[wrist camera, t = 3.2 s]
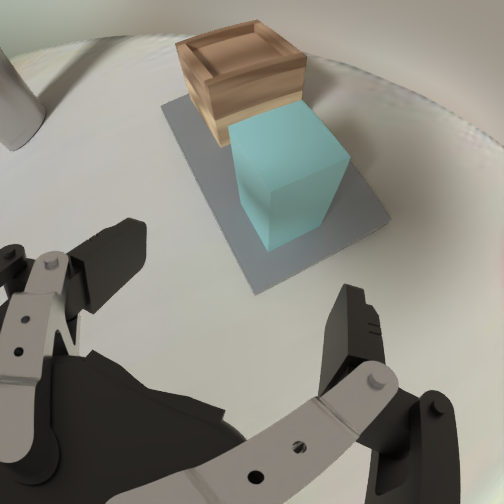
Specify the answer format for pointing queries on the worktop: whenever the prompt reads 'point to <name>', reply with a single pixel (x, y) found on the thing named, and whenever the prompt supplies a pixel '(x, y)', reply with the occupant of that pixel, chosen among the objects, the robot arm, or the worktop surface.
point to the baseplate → (238, 223)
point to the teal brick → (286, 171)
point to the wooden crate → (240, 74)
